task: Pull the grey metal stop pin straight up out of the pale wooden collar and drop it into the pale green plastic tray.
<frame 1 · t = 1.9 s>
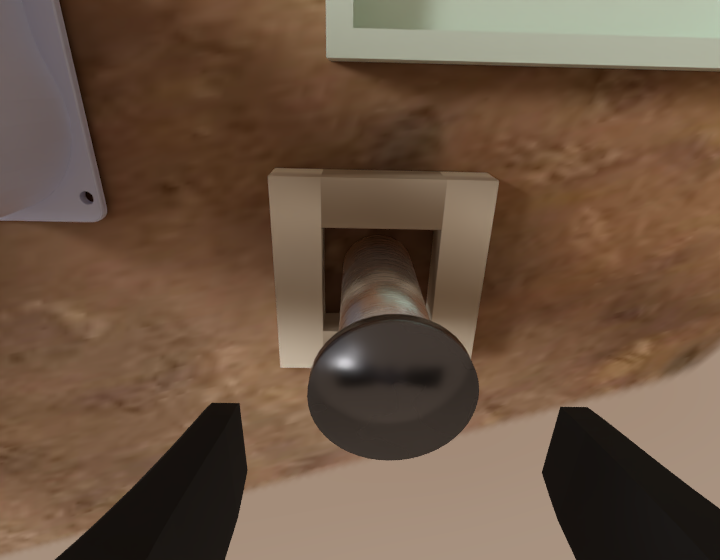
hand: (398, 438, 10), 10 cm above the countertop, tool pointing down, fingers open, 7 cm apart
stop pin: (383, 315, 15), in the pin collar
pin collar: (377, 267, 19), on the countertop
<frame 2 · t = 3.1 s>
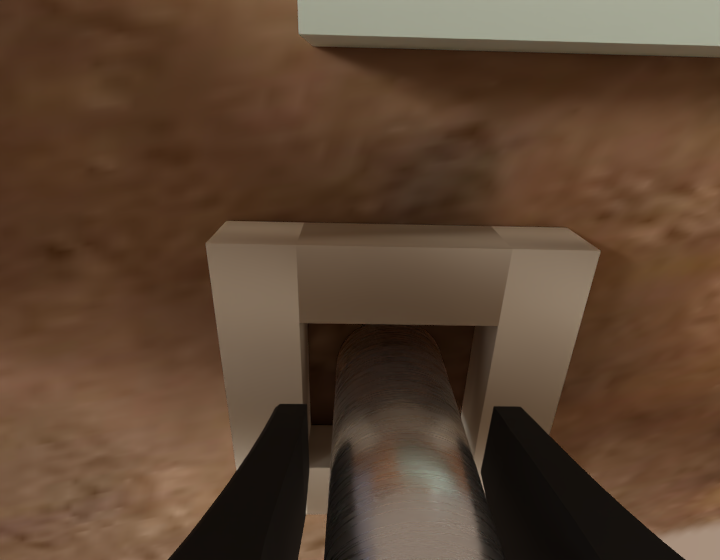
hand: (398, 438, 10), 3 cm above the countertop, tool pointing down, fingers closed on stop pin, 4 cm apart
stop pin: (404, 493, 8), in the pin collar, touching gripper
pin collar: (389, 364, 12), on the countertop
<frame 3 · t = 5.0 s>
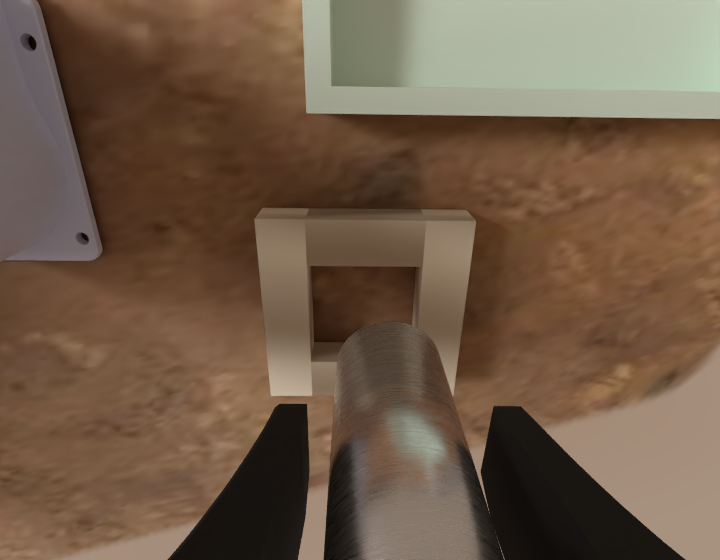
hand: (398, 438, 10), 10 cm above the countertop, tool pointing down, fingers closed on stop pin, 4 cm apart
stop pin: (403, 495, 8), point 11 cm above the countertop, touching gripper
pin collar: (363, 299, 19), on the countertop
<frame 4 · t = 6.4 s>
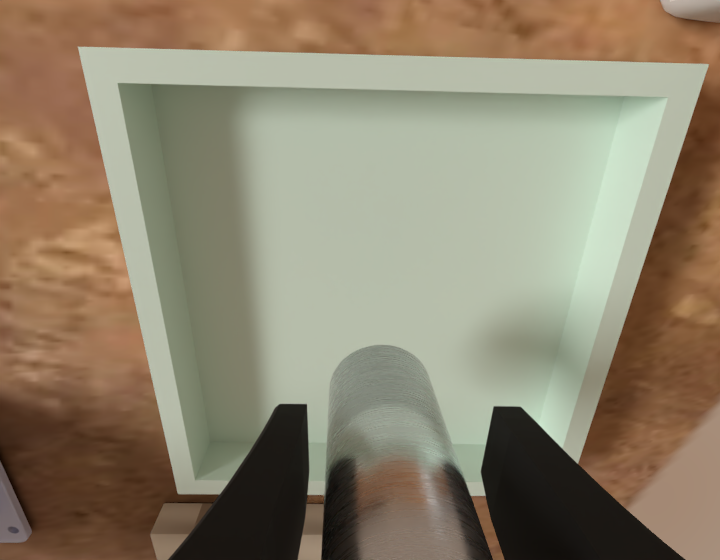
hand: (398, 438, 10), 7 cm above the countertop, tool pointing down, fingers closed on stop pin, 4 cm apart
stop pin: (397, 510, 9), point 9 cm above the countertop, tilted 5°, touching gripper
tray: (379, 293, 16), on the countertop
pin collar: (255, 557, 23), on the countertop
when the fingers open (5 cm above the countertop, at t = 7.2 s): stop pin drops 2 cm, resting on tray.
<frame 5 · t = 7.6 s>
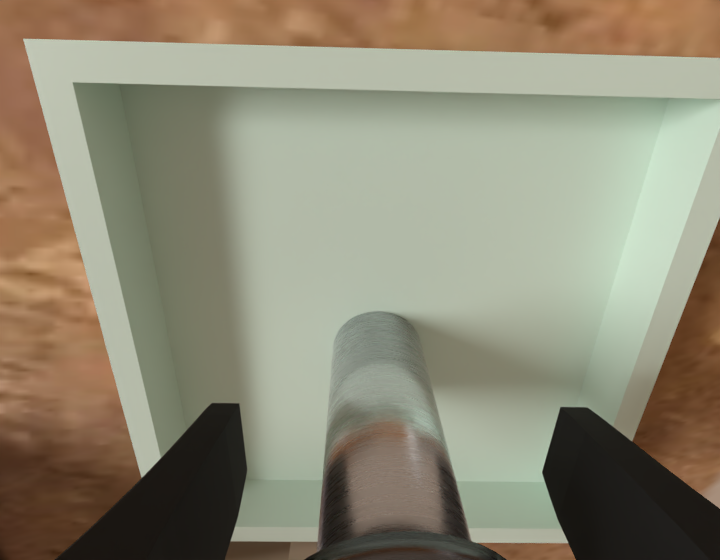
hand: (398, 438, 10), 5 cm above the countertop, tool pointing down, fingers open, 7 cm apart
stop pin: (385, 446, 11), in the tray
tray: (383, 319, 15), on the countertop
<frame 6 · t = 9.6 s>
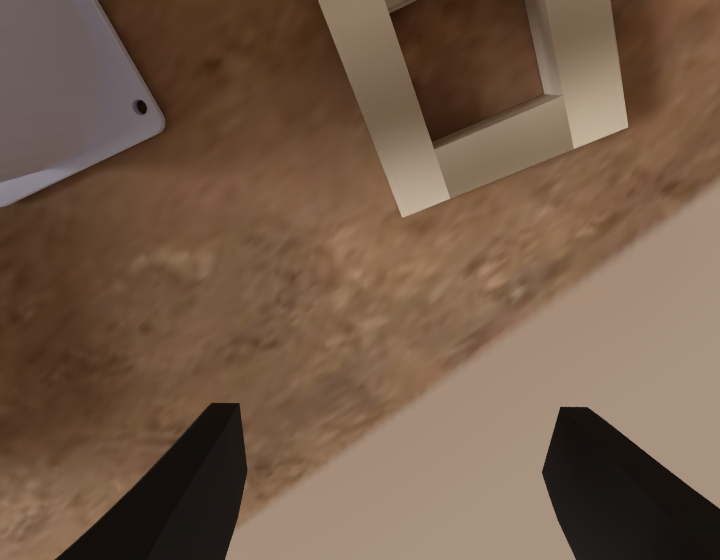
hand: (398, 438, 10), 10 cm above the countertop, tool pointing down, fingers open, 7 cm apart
pin collar: (467, 56, 15), on the countertop
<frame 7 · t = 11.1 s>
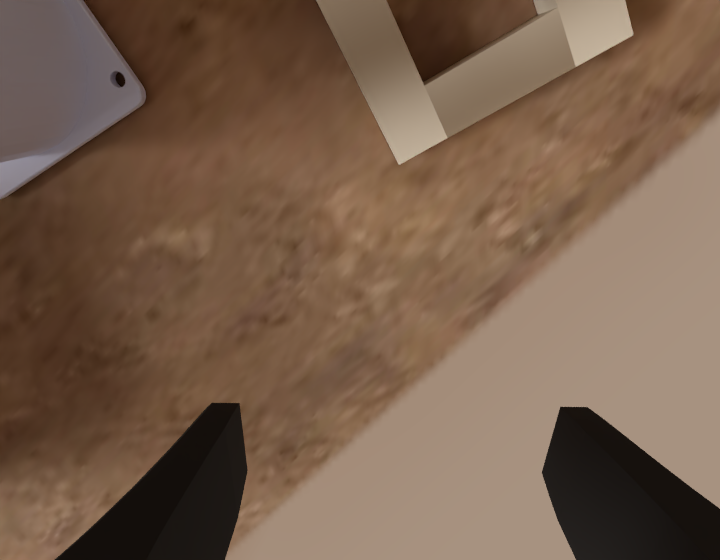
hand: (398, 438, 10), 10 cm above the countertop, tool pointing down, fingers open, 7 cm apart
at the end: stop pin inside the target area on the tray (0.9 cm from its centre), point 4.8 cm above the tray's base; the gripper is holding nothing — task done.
